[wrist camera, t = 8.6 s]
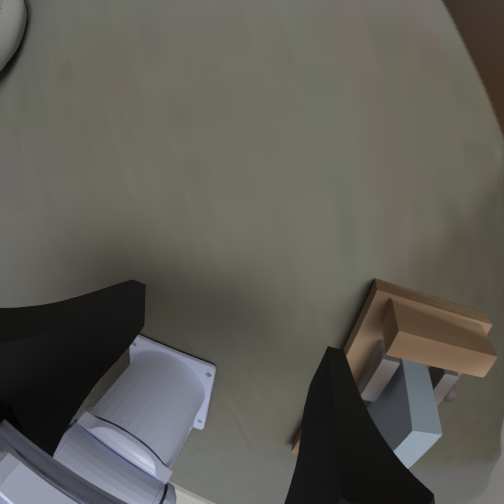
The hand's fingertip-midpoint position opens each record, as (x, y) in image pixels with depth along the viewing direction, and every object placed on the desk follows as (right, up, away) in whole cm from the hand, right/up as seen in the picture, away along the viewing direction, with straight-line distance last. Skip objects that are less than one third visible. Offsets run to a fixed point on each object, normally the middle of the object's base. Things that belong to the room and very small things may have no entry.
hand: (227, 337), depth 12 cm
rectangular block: (+10, -8, +9) cm, 16 cm away
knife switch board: (+11, -8, +11) cm, 17 cm away
